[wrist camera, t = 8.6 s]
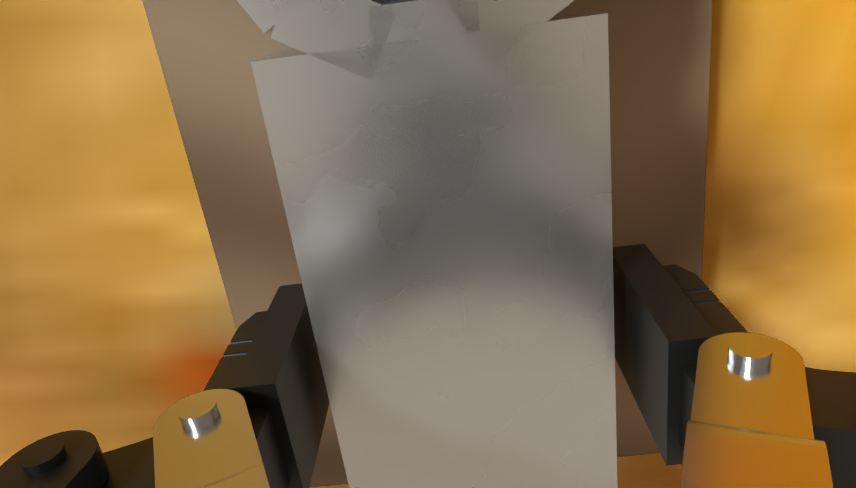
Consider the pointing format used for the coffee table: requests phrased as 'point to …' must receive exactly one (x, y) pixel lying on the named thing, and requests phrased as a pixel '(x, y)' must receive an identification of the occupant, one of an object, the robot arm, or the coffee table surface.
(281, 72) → the hinge leaf
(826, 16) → the coffee table surface
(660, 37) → the hinge base
